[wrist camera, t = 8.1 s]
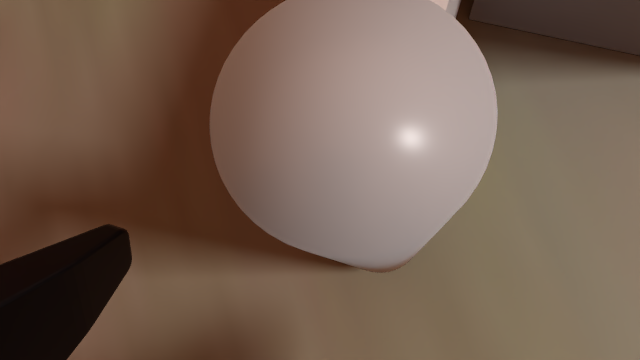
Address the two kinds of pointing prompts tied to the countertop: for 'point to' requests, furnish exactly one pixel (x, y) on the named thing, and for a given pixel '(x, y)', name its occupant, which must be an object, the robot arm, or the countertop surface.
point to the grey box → (569, 20)
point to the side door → (354, 125)
